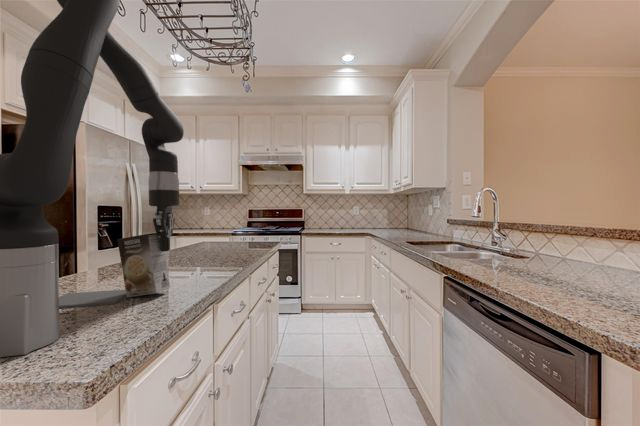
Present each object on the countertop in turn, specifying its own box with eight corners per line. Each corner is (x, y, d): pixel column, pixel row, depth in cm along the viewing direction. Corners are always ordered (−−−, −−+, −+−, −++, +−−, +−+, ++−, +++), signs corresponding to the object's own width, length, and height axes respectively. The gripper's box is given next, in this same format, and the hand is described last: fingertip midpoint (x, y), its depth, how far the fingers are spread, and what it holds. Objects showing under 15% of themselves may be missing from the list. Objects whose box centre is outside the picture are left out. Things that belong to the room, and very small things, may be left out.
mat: (115, 303, 71) (115, 301, 71) (36, 310, 67) (36, 307, 67) (132, 291, 83) (132, 288, 83) (66, 295, 78) (66, 293, 78)
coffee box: (125, 298, 76) (115, 239, 76) (142, 291, 82) (133, 236, 82) (156, 293, 75) (146, 233, 75) (171, 286, 81) (162, 231, 81)
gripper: (173, 187, 74) (174, 253, 74) (183, 190, 87) (184, 247, 87) (140, 187, 72) (142, 255, 72) (156, 190, 85) (157, 248, 85)
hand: (165, 250), depth 80 cm, fingers closed
